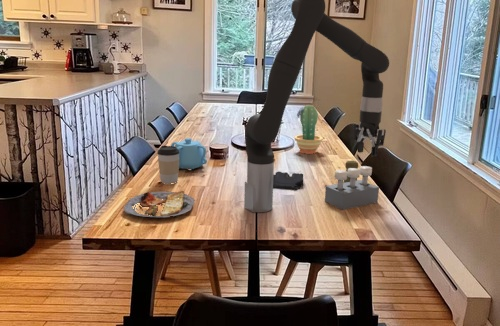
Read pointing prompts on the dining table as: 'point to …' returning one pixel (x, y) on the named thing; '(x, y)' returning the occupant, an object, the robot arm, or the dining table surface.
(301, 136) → the potted cactus
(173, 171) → the coffee cup
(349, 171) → the knob middle
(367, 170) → the knob far
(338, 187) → the knob near
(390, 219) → the dining table surface
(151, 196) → the food plate
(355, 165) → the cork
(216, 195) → the dining table surface
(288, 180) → the dark slate chunk
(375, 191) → the mount block
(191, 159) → the decorative pot
